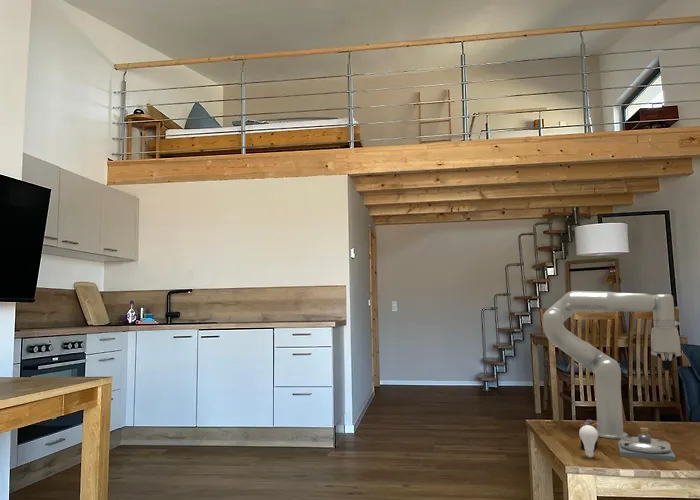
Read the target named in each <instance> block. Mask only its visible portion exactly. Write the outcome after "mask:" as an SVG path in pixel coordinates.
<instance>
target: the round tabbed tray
mask: <svg viewBox="0 0 700 500" xmlns="http://www.w3.org/2000/svg"><path fill="white" fill-rule="evenodd" d="M637 435H638V436H628V437H624V438H621V439H619V441H620V446H621V447H623V448H625V449H628V450H631V451H636V452H643V453H668V452H670V451H671V450H672V448H671V443H669V442H668V441H665V440H664V439H663V440H662V439H657V438H652V437H651V435H650V434H649V427H640V433H638V434H637Z"/></svg>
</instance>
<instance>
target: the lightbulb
mask: <svg viewBox="0 0 700 500" xmlns="http://www.w3.org/2000/svg"><path fill="white" fill-rule="evenodd" d="M578 434H579V438H580V441H581V440H582V441H583V444H584V449H585V450H584V452H585V456H586V457H587V458H589V459H591V458H593V457H594V455H595V454H594V453H595V452H594V451H595V449H594V445H595V443H596V441H598V438H599V436H598V432H597V430H596V429H595V428H594V427H592V426H590V425H585V426H583V427H582V428H581V429H580V428H579V432H578Z"/></svg>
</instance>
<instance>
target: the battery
mask: <svg viewBox="0 0 700 500" xmlns="http://www.w3.org/2000/svg"><path fill="white" fill-rule="evenodd" d="M585 425H590V426H592V427H594V428H595V429H596V430H597V424H596V422H594V421H593V420H592V419H586V421H584V422H582V423H581V424H580V425H579V427H580V428H579V430H580V429H581V428H582V427H583V426H585ZM598 443H599V442H598V440H597V441H596V443H595V445H594V450H596V449H597V448H598V447H599V445H598ZM580 447H581V450H584V451H585V449H584V444H583V441H582V440H581V439H580Z"/></svg>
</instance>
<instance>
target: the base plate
mask: <svg viewBox="0 0 700 500" xmlns="http://www.w3.org/2000/svg"><path fill="white" fill-rule="evenodd" d="M617 446H618V451H619V455H620V457H626V458H636V459H637V458H638V459H646V460H657V461H658V460H659V461H670V462H677V459H676V458H677V457H676V455H675V453H674V451H673V450H672V449H671V451H670V452H668V453H643V452H636V451H631V450H628V449H625V448H623V447H621V446H620V440H618V441H617Z"/></svg>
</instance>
